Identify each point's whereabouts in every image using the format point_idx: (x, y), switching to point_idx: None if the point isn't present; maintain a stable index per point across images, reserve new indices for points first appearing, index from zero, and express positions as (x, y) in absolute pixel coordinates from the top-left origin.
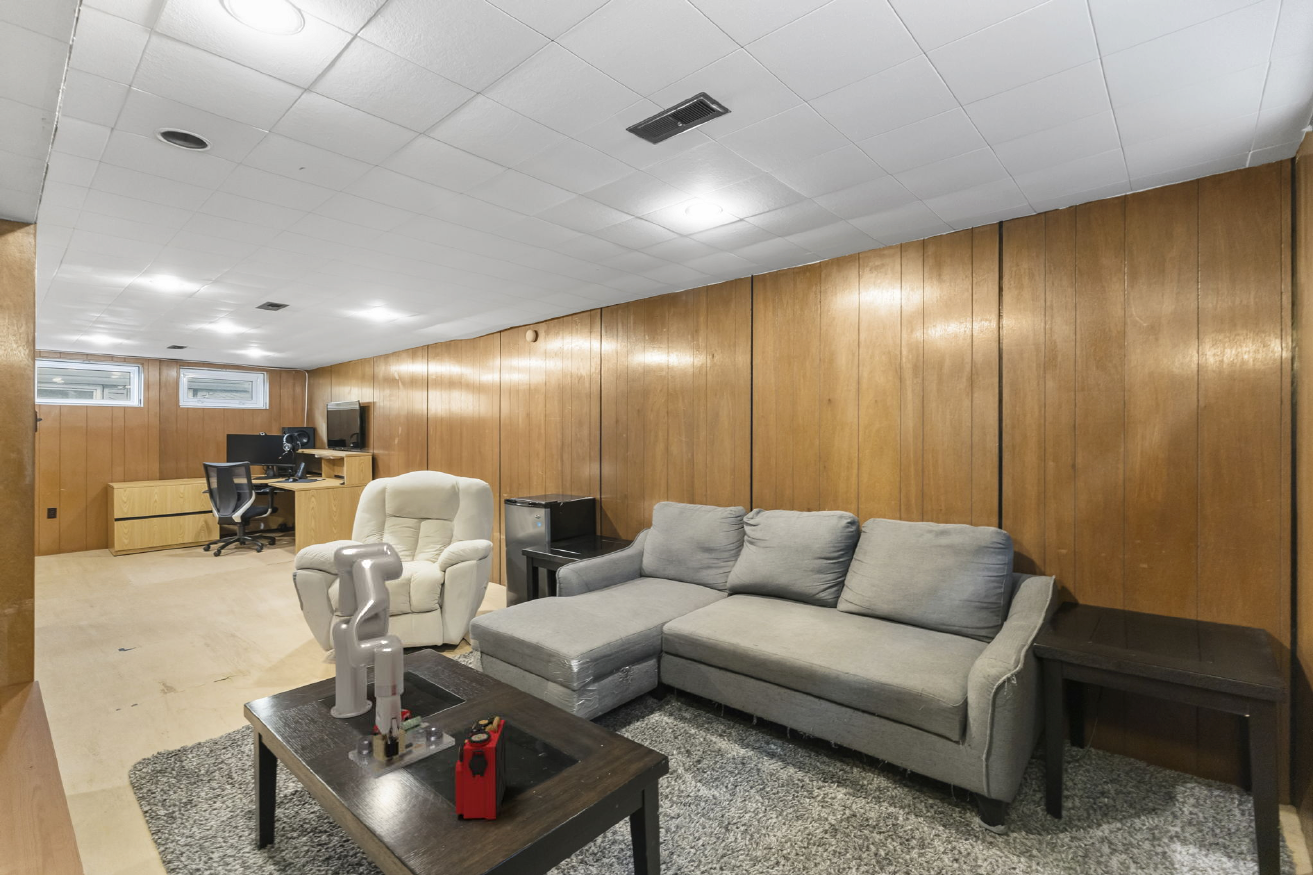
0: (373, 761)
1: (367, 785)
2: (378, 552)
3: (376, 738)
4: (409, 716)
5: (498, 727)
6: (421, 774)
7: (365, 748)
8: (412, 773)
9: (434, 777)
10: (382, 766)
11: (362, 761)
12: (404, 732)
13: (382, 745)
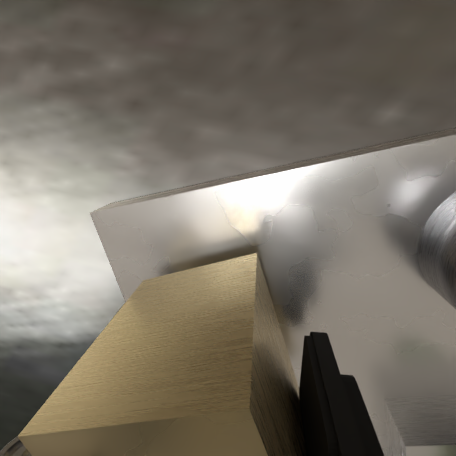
0: (253, 237)
1: (54, 146)
2: None
3: (151, 418)
4: None
5: None
6: (50, 368)
7: (454, 235)
8: (76, 347)
9: (6, 391)
10: (147, 264)
11: (311, 173)
12: None
13: (72, 382)
